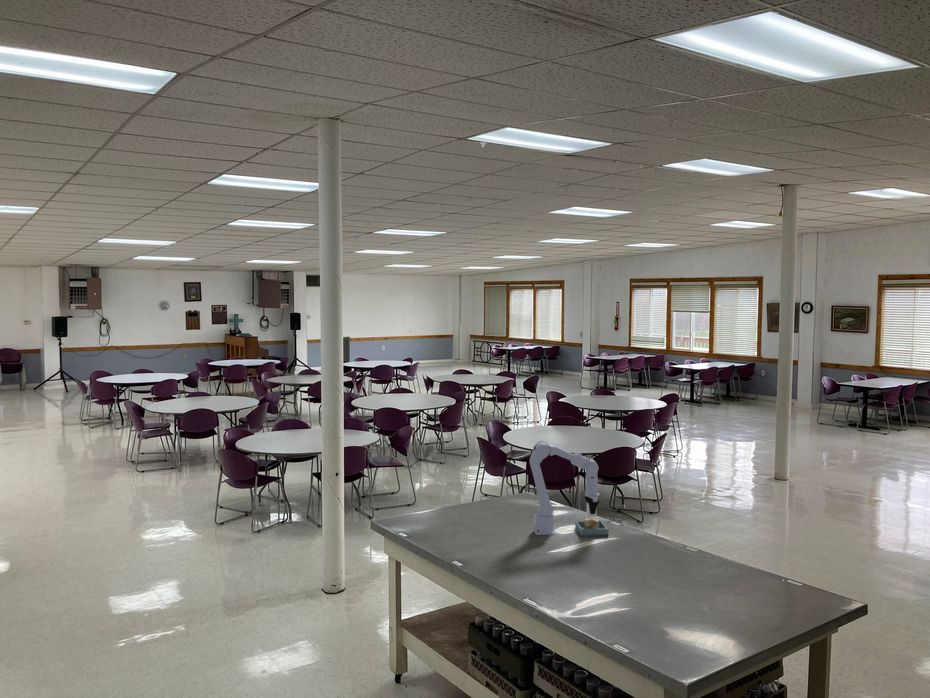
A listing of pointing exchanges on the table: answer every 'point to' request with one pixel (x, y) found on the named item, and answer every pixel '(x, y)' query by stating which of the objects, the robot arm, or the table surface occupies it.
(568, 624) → the table surface
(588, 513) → the cream carton
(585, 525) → the oak block
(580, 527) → the tote
